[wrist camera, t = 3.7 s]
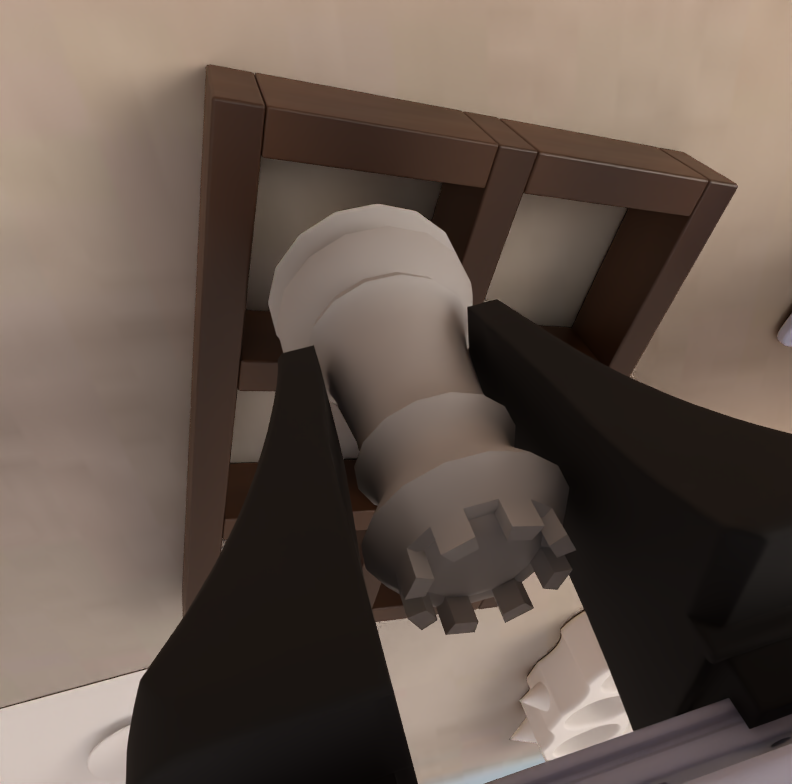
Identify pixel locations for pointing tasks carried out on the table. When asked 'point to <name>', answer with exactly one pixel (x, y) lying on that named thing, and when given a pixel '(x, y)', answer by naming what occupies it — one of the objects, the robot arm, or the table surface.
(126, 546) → the table surface
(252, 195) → the rack
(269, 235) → the table surface
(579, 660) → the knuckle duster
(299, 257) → the rook chess piece
